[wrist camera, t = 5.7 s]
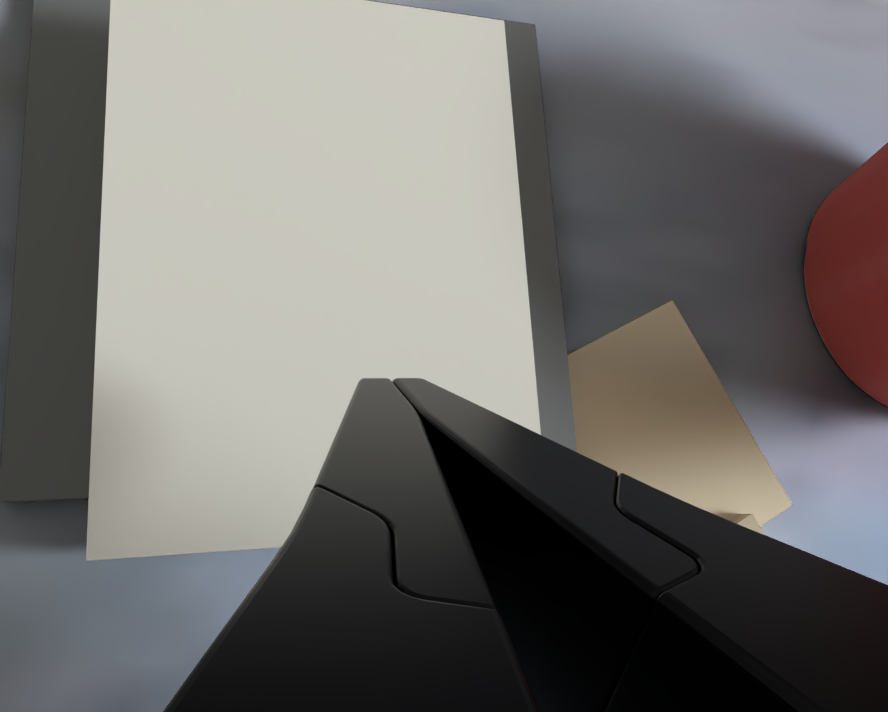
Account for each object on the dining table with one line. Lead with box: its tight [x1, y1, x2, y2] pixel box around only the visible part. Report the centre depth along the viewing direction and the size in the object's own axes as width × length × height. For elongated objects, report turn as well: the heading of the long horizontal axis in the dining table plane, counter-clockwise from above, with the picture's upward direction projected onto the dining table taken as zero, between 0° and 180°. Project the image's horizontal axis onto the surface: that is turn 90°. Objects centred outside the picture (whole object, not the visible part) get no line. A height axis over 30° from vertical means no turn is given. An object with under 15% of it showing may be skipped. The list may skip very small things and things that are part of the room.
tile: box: [86, 0, 541, 561], centre depth 15 cm, size 3×8×11 cm
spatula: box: [568, 300, 793, 535], centre depth 17 cm, size 18×4×1 cm, turn 28°
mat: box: [0, 0, 577, 502], centre depth 17 cm, size 12×12×1 cm
